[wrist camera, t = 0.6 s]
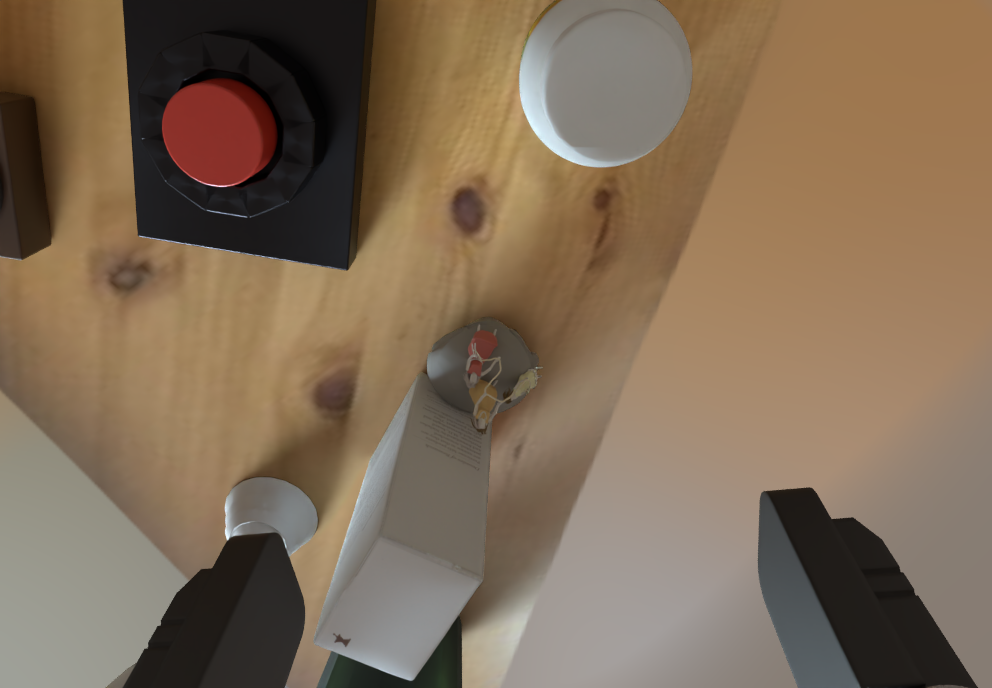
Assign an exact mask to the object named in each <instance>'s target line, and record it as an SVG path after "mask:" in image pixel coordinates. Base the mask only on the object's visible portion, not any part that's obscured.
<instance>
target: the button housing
mask: <svg viewBox="0 0 992 688" xmlns="http://www.w3.org/2000/svg"><path fill="white" fill-rule="evenodd" d="M375 8H376V0H123V11H124V27H125V42H126V58H127V74H128V89H129V105H130V120H131V136H132V151H133V167H134V182H135V198H136V214H137V229H138V236H139V237H145V238H151V239H157V240H163V241H169V242H176V243H182V244H188V245H194V246H200V247H206V248H212V249H218V250H224V251H231V252H237V253H243V254H249V255H255V256H261V257H267V258H273V259H279V260H286V261H292V262H298V263H304V264H310V265H316V266H322V267H328V268H334V269H341V270H348V269H349V268H350V266H351V265H352V263H353V261H354V260H355V258H356V253H357V240H358V227H359V214H360V201H361V188H362V175H363V163H364V150H365V137H366V124H367V111H368V98H369V85H370V73H371V60H372V47H373V34H374V21H375ZM215 78H228V79H233V80H237V81H239V82H242V83H244V84H246V85H248V86H249V87H251V88H252V89H254V90H255V91H256V92H257V93H258V94H259V95H260V96H261V97H262V98H263V99H264V100H265V102H266V103H267V104H268V106H269V108H270V109H271V111H272V113H273V116H274V118H275V122H276V126H277V135H278V138H277V146H276V150H275V153H274V155H273V157H272V159H271V160H270V162H269V163H268V164H267V165H266V166H265V167H264V168H263V169H262V170H260V171H259V172H257V173H256V174H254V175H253V176H251V177H250V178H248V179H247V180H245V181H243V182H241V183H239V184H237V185H234V186H228V187H216V186H211V185H207V184H204V183H201V182H199V181H197V180H195V179H193V178H192V177H190V176H189V175H187V174H186V173H185V172H184V171H183V170H182V169H181V168H180V167H179V166H178V165H177V164H176V163H175V161H174V160H173V159H172V157H171V155H170V154H169V152H168V150H167V147H166V145H165V142H164V138H163V131H162V120H163V114H164V111H165V108H166V106H167V104H168V102H169V101H170V99H171V98H172V97H173V95H174V94H175V93H176V92H178V91H179V90H180V89H182V88H184V87H186V86H188V85H191V84H195V83H199V82H202V81H206V80H210V79H215Z"/></svg>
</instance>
